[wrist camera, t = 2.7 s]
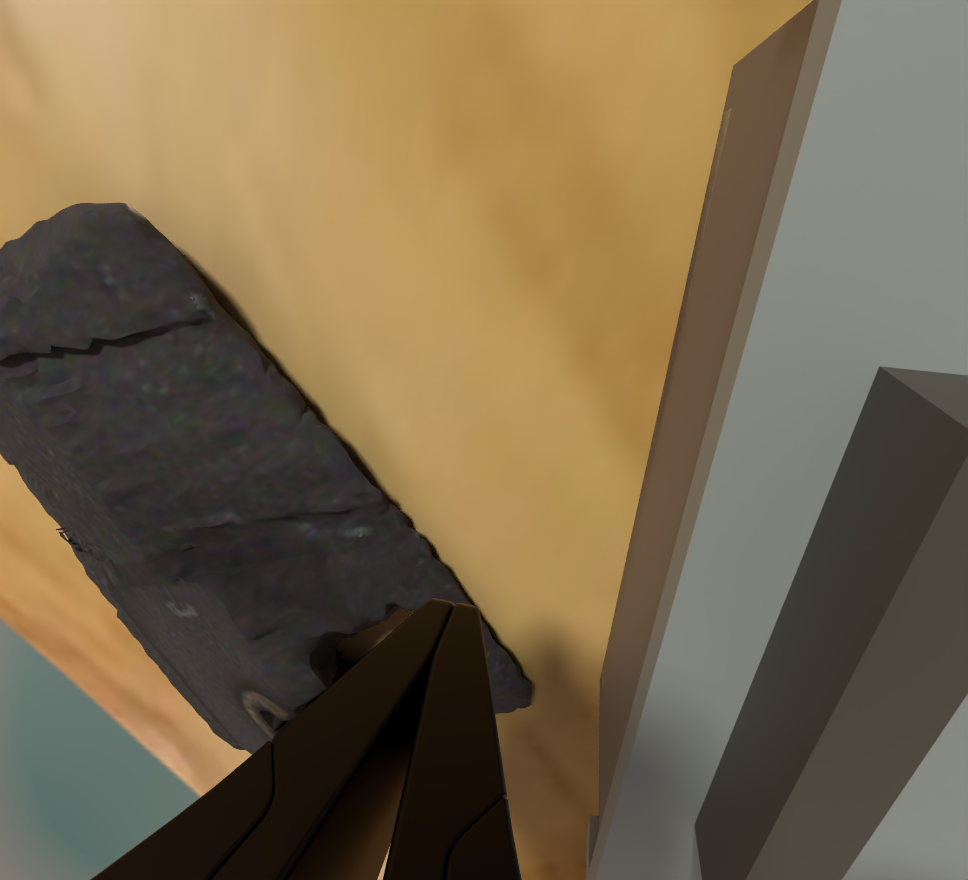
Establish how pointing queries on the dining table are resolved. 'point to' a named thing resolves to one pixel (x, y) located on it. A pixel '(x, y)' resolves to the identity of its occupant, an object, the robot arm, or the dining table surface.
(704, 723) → the lid
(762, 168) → the box
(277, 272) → the dining table surface
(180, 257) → the dark slate chunk
